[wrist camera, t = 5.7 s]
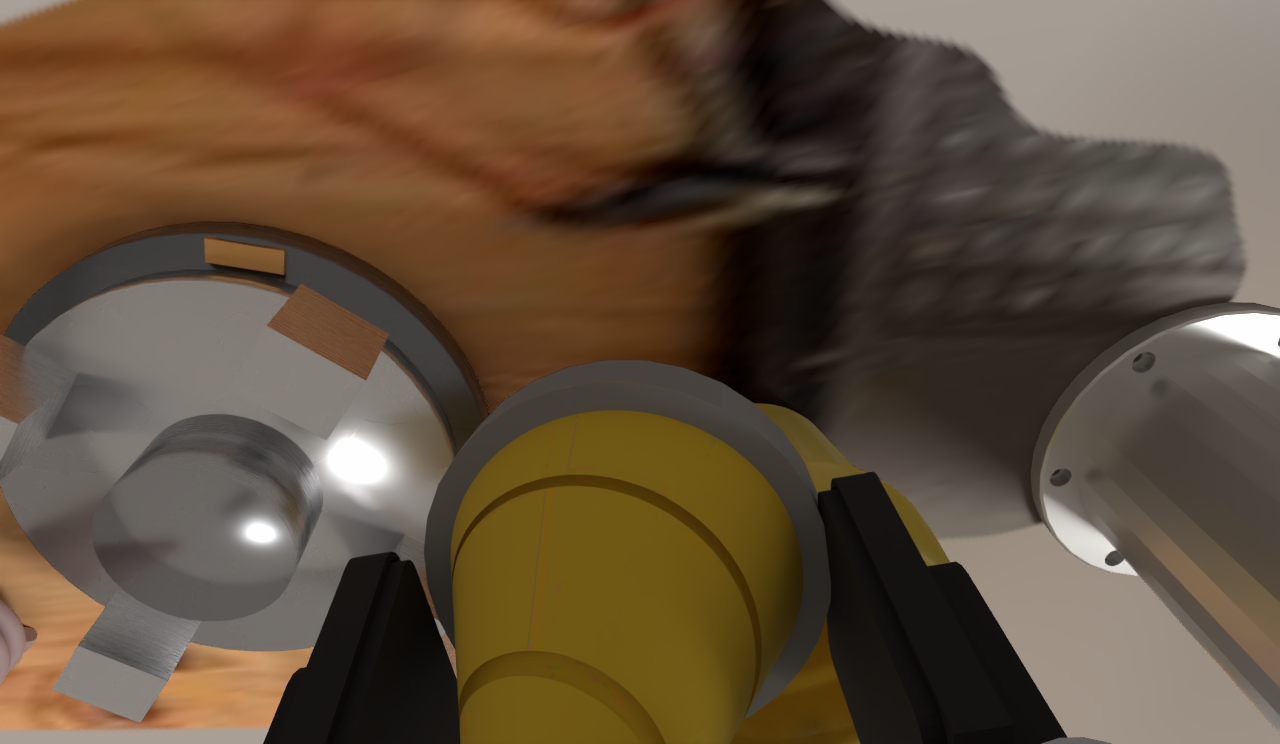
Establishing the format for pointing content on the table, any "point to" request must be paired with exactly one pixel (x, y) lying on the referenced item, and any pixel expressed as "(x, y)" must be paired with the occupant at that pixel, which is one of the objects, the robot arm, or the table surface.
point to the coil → (12, 639)
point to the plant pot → (813, 701)
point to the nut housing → (283, 262)
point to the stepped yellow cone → (625, 561)
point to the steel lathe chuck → (212, 466)
